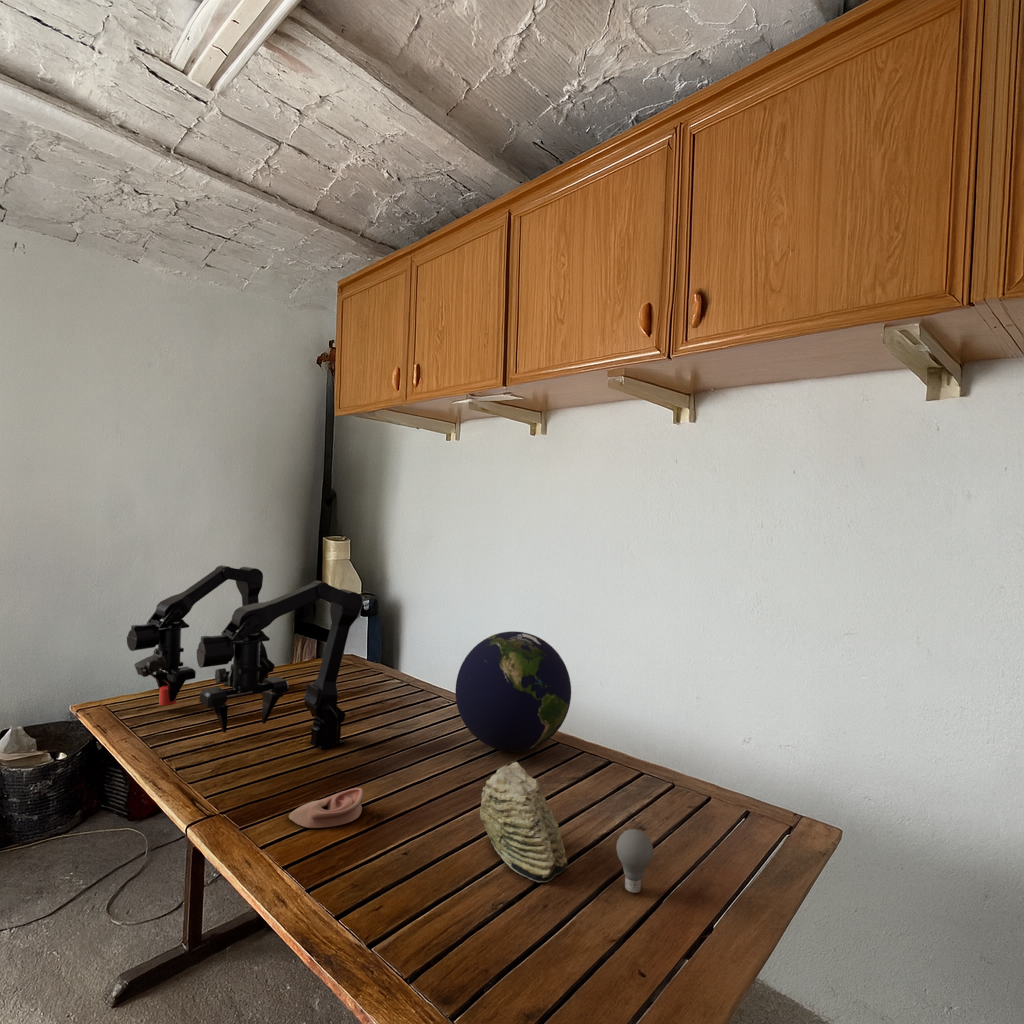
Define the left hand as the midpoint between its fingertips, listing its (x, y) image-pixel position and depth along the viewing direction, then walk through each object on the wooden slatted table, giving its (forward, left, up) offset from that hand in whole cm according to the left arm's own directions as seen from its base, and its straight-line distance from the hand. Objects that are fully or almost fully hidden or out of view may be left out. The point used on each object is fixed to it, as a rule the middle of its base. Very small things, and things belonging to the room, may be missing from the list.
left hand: (167, 699), depth 180 cm
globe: (+67, +73, -4) cm, 99 cm away
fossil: (+109, +48, -4) cm, 119 cm away
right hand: (+46, +12, +5) cm, 48 cm away
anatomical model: (+79, +22, -4) cm, 82 cm away
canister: (0, 0, -1) cm, 1 cm away
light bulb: (+127, +59, -4) cm, 140 cm away
